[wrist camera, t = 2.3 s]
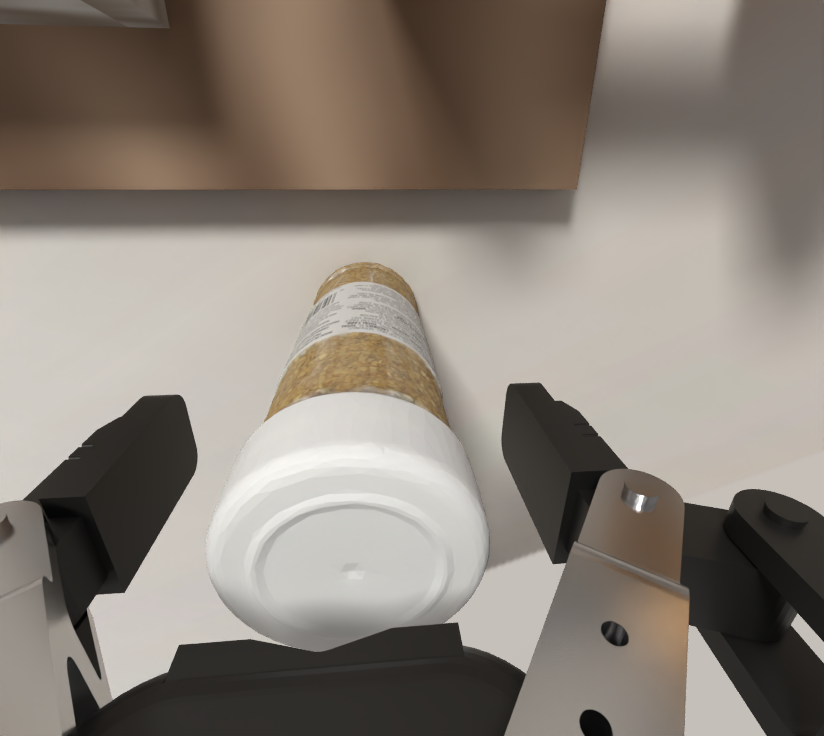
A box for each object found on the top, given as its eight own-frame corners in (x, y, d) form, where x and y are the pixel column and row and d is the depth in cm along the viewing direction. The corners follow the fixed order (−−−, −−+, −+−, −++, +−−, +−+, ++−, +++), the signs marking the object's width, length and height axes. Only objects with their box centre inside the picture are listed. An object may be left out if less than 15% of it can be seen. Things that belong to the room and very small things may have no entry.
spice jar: (360, 376, 20) (338, 697, 8) (291, 303, 18) (125, 572, 6) (438, 318, 19) (549, 581, 7) (373, 235, 17) (370, 394, 5)
